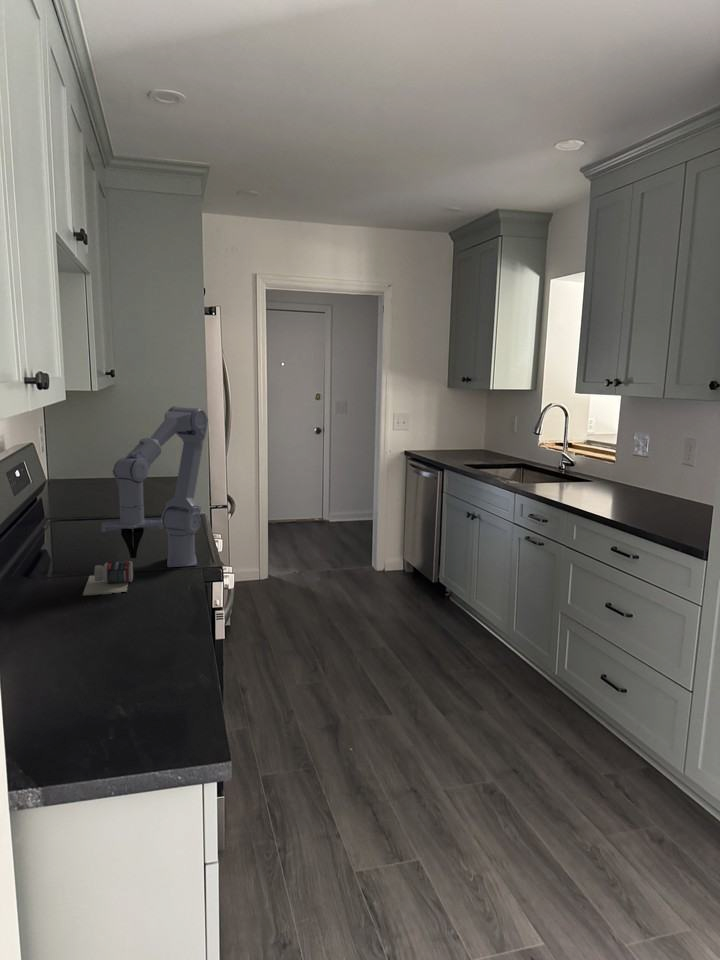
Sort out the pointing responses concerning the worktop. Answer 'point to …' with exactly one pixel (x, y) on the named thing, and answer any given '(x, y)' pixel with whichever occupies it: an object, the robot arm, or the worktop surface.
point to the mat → (103, 587)
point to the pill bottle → (114, 572)
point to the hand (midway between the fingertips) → (133, 557)
